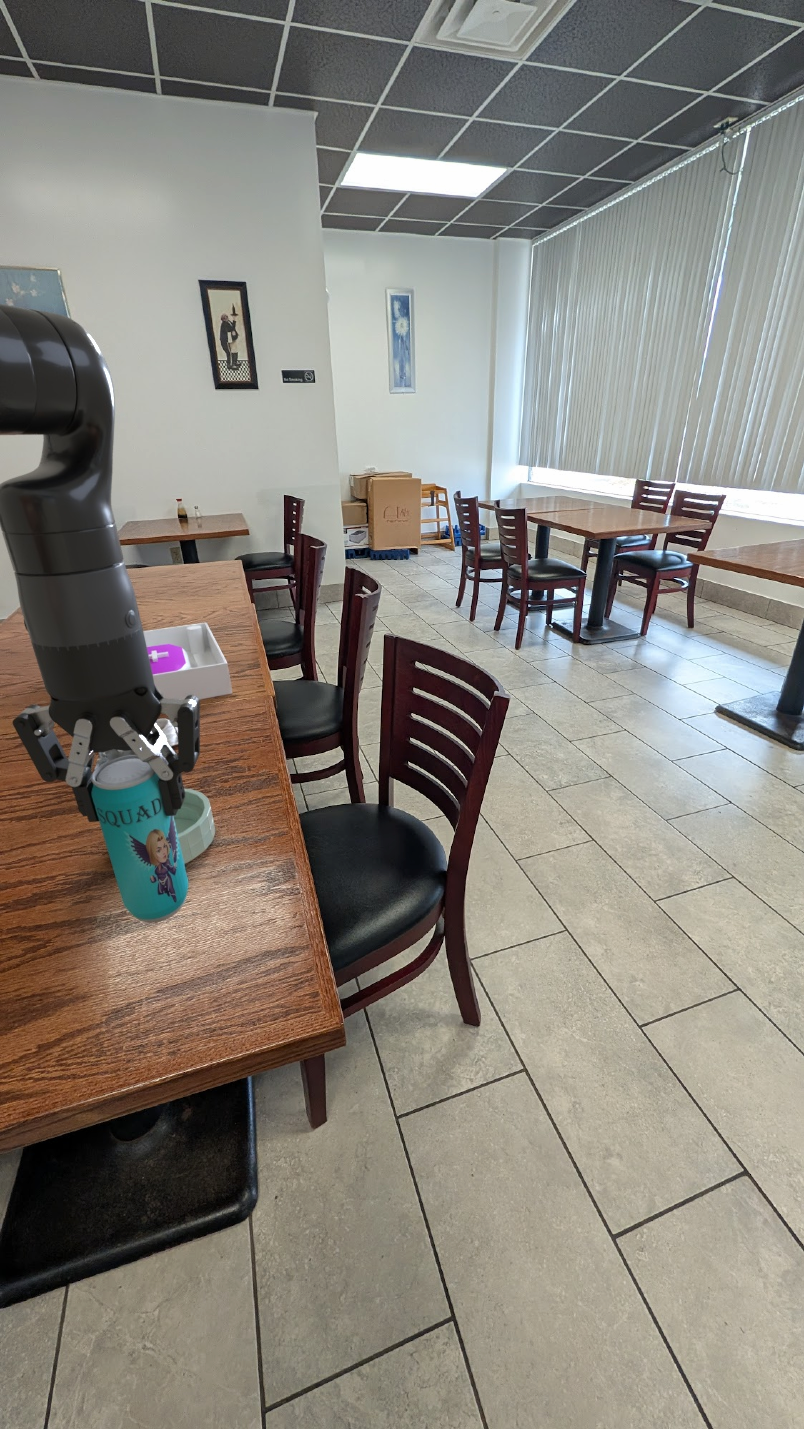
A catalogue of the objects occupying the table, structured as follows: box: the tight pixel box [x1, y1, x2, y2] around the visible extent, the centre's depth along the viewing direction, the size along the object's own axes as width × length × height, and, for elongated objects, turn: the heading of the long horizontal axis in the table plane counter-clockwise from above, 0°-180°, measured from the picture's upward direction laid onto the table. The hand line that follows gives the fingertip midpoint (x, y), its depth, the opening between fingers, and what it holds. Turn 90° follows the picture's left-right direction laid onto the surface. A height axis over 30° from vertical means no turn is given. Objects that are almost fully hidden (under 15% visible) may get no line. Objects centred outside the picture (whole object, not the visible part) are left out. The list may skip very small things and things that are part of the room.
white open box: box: [143, 622, 234, 700], centre depth 138 cm, size 22×35×7 cm, turn 24°
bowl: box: [102, 787, 216, 865], centre depth 80 cm, size 14×14×5 cm
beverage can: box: [91, 755, 189, 924], centre depth 52 cm, size 6×6×15 cm
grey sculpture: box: [94, 749, 136, 770], centre depth 98 cm, size 11×8×4 cm
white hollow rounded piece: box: [146, 718, 178, 748], centre depth 107 cm, size 8×7×5 cm
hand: (135, 812), depth 51 cm, fingers closed on beverage can, 5 cm apart
